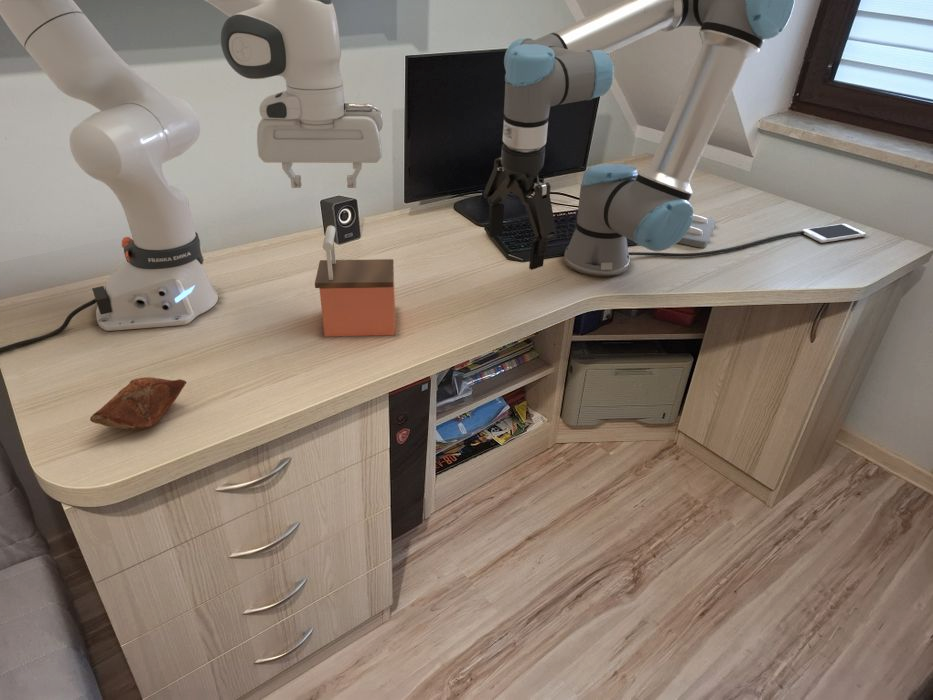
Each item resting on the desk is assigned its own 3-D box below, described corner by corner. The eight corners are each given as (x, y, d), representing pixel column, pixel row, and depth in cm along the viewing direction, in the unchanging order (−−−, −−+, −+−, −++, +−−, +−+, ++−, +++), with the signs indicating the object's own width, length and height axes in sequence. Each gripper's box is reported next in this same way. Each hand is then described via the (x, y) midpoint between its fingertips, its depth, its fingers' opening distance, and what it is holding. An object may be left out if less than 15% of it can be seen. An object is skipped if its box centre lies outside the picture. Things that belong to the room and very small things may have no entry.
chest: (324, 336, 121) (319, 288, 116) (328, 311, 129) (324, 265, 124) (395, 334, 123) (393, 287, 117) (395, 309, 131) (393, 264, 125)
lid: (315, 288, 116) (310, 244, 111) (320, 265, 123) (315, 223, 119) (393, 287, 117) (391, 243, 112) (393, 264, 125) (391, 222, 120)
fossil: (192, 375, 104) (155, 351, 95) (202, 420, 100) (164, 400, 91) (121, 406, 104) (76, 386, 95) (128, 452, 100) (83, 436, 91)
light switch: (708, 237, 159) (646, 224, 164) (705, 248, 160) (644, 236, 166) (717, 213, 172) (660, 202, 178) (714, 224, 174) (658, 213, 179)
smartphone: (800, 232, 171) (801, 229, 171) (843, 226, 176) (844, 222, 176) (821, 243, 166) (822, 239, 165) (865, 236, 171) (866, 232, 170)
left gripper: (381, 99, 106) (385, 180, 114) (256, 98, 104) (268, 180, 112) (381, 108, 101) (384, 193, 109) (248, 107, 99) (261, 193, 107)
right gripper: (467, 124, 116) (465, 227, 130) (550, 176, 100) (538, 287, 114) (501, 116, 119) (495, 218, 133) (587, 166, 103) (570, 276, 117)
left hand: (324, 186), depth 110 cm, fingers open, 8 cm apart
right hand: (515, 250), depth 124 cm, fingers open, 13 cm apart
